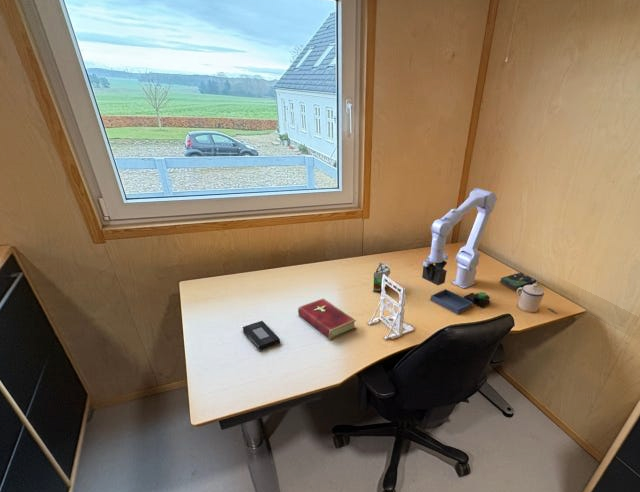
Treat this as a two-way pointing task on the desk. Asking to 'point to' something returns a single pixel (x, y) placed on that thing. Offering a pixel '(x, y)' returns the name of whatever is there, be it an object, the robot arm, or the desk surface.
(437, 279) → the dark grey block
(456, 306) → the open rectangular tray
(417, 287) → the desk surface
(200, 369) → the desk surface
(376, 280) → the food container
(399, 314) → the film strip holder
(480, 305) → the panel
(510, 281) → the disk drive
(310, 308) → the hardcover book
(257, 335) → the vhs tape
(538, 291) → the teacup with lid
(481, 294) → the button
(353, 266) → the desk surface
